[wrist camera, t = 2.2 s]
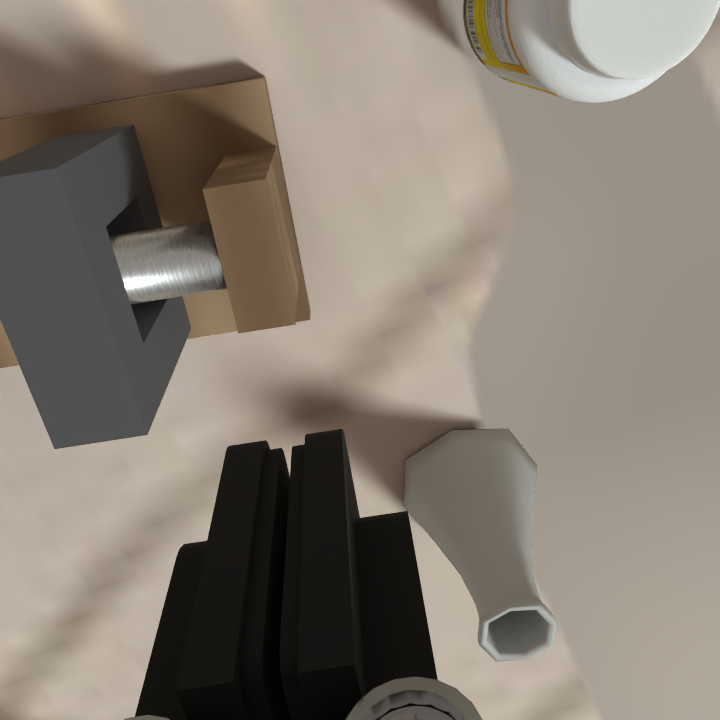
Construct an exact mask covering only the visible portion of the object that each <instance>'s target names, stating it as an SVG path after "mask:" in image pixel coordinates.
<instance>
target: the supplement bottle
mask: <svg viewBox="0 0 720 720" xmlns="http://www.w3.org/2000/svg"><path fill="white" fill-rule="evenodd" d="M719 5H720V0H464V3H463V18H464V26H465V31H466V35H467V38H468V40H469V43H470V45H471V48H472V49H473V51H474V53H475V54H476V56H477V57H478V59H479V60H480V61H481V63H483V65H484V66H485V67H486V68H487V69H488V70H490V71H491V72H492V73H494V74H495V75H497V76H499V77H501V78H503V79H505V80H507V81H510V82H513V83H516V84H519V85H523V86H526V87H530V88H533V89H536V90H540V91H544V92H546V93H550V94H553V95H556V96H559V97H562V98H566V99H569V100H574V101H579V102H607V101H612V100H616V99H620V98H623V97H626V96H628V95H631V94H633V93H636V92H638V91H640V90H641V89H643V88H645V87H646V86H648V85H649V84H651V83H652V82H654V81H655V80H656V79H658V78H659V77H660V76H661V75H662V74H663V73H664V72H666V70H668V69H669V68H671V67H673V66H675V65H676V64H678V63H679V62H680V61H681V60H683V59H684V58H685V57H686V56H688V55H689V54H690V53H691V52H692V51H693V50H694V49H695V47H696V46H697V45H698V44H699V43H700V41H701V40H702V39H703V37H704V36H705V34H706V33H707V31H708V30H709V28H710V26H711V24H712V22H713V20H714V18H715V16H716V13H717V11H718V8H719Z"/></svg>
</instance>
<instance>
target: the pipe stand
mask: <svg viewBox="0 0 720 720" xmlns="http://www.w3.org/2000/svg"><path fill="white" fill-rule="evenodd" d="M133 124H134V127H135V130H136V134H137V137H138V141H139V144H140V148H141V152H142V155H143V159H144V162H145V166H146V169H147V173H148V176H149V180H150V183H151V187H152V191H153V194H154V198H155V201H156V205H157V208H158V212H159V215H160V219H161V222H162V226H163V227H169V226H175V225H181V224H188V223H194V222H200V221H207V220H210V222H211V226H212V230H213V234H214V238H215V242H216V246H217V250H218V254H219V258H220V262H221V266H222V270H223V274H224V278H225V282H226V286H227V289H224V290H218V291H211V292H205V293H199V294H192V295H186V296H182V297H183V300H184V304H185V307H186V311H187V314H188V318H189V321H190V325H191V330H190V332H189V335H188V337H187V339H189V338H196V337H202V336H209V335H215V334H221V333H228V332H234V331H238V333H244V332H250V331H256V330H263V329H269V328H276V327H282V326H288V325H295V324H296V322H298V321H305V320H310V306H309V301H308V296H307V291H306V286H305V281H304V275H303V270H302V265H301V260H300V255H299V249H298V244H297V239H296V234H295V229H294V224H293V218H292V213H291V208H290V203H289V198H288V192H287V187H286V182H285V177H284V172H283V167H282V161H281V156H280V151H279V146H278V141H277V136H276V130H275V125H274V120H273V115H272V110H271V104H270V99H269V94H268V89H267V84H266V79H265V77H258V78H252V79H246V80H240V81H234V82H228V83H221V84H215V85H209V86H203V87H197V88H191V89H184V90H178V91H172V92H166V93H160V94H153V95H147V96H141V97H135V98H129V99H123V100H116V101H110V102H104V103H98V104H92V105H86V106H79V107H73V108H67V109H61V110H55V111H49V112H42V113H36V114H30V115H24V116H18V117H12V118H5V119H0V161H2V160H4V159H7V158H9V157H11V156H13V155H16V154H18V153H20V152H22V151H25V150H27V149H29V148H31V147H34V146H36V145H38V144H40V143H43V142H45V141H47V140H49V139H52V138H54V137H59V136H65V135H71V134H77V133H83V132H90V131H96V130H102V129H108V128H114V127H121V126H127V125H133ZM16 365H19V363H18V360H17V358H16V356H15V353H14V351H13V349H12V346H11V344H10V341H9V339H8V337H7V334H6V332H5V329H4V327H3V325H2V324H1V325H0V368H4V367H10V366H16Z"/></svg>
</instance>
